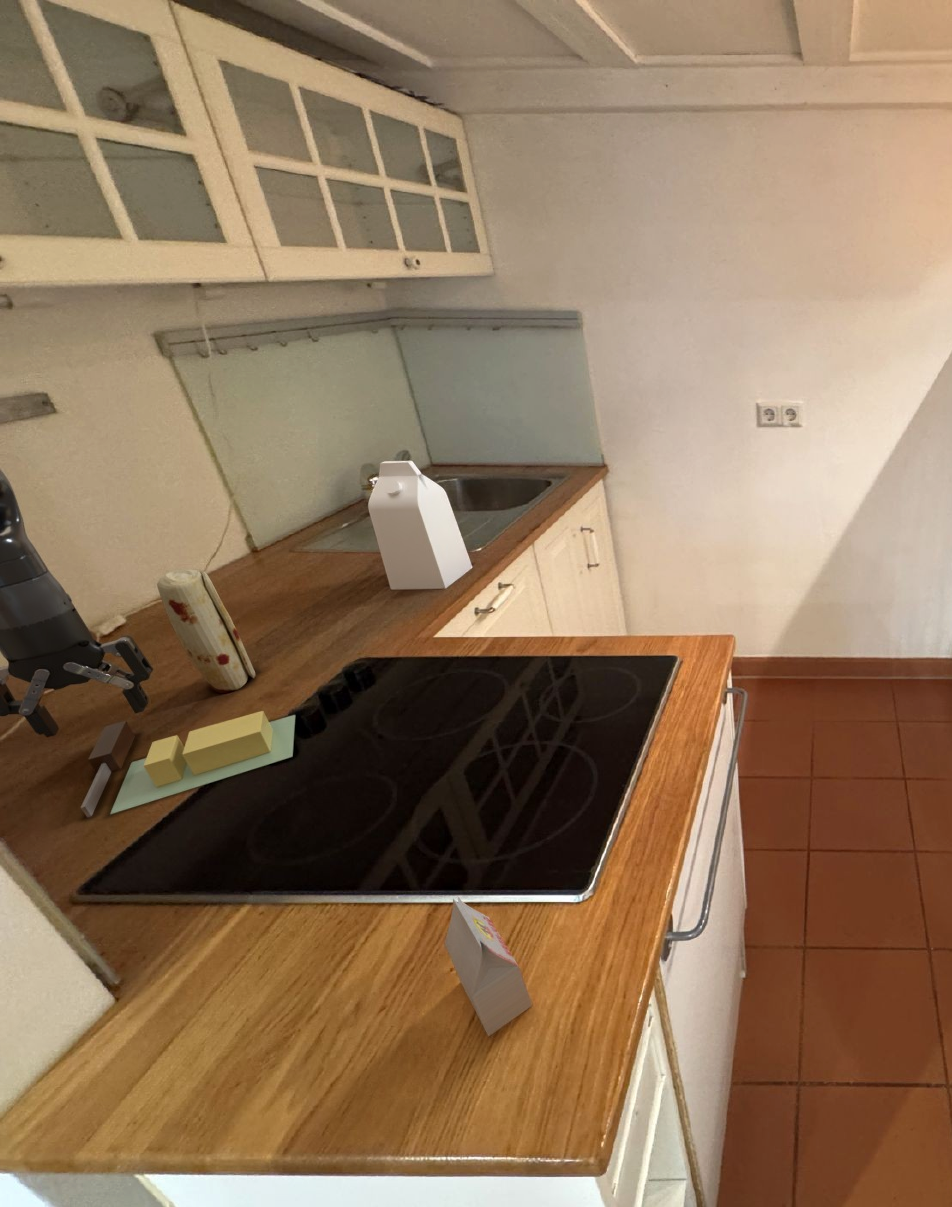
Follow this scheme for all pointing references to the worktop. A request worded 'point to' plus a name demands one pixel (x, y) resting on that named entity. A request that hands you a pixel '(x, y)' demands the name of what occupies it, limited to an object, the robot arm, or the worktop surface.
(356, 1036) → the worktop surface
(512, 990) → the gable top carton
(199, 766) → the butter block
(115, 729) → the butter knife
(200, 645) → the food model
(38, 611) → the robot arm
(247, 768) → the butter dish
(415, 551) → the milk
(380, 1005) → the worktop surface
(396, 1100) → the worktop surface
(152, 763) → the block
